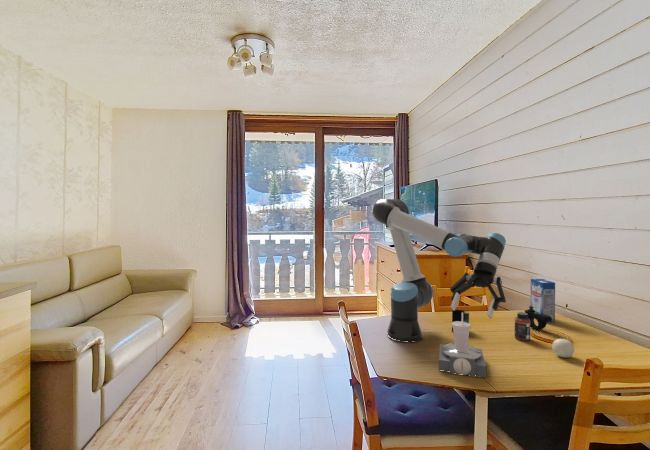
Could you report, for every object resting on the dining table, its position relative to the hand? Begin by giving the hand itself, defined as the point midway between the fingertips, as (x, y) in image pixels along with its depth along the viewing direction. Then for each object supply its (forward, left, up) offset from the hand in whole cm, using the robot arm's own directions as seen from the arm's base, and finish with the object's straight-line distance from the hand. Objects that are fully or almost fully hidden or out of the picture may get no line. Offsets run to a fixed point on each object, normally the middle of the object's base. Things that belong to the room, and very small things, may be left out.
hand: (470, 312), depth 123 cm
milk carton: (+38, +64, -19) cm, 77 cm away
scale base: (-3, -4, -19) cm, 19 cm away
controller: (+32, +46, -19) cm, 59 cm away
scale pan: (-3, -4, -14) cm, 15 cm away
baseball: (+34, +16, -19) cm, 42 cm away
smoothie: (-3, -4, -13) cm, 14 cm away
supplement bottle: (+23, +31, -19) cm, 43 cm away
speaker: (-2, +34, -19) cm, 39 cm away
